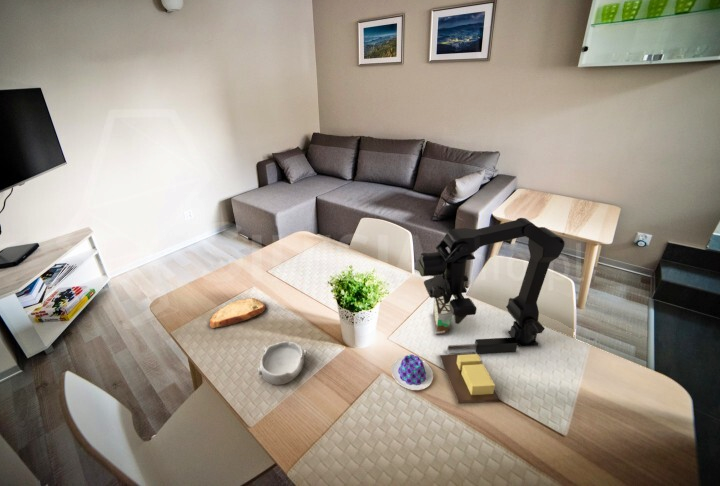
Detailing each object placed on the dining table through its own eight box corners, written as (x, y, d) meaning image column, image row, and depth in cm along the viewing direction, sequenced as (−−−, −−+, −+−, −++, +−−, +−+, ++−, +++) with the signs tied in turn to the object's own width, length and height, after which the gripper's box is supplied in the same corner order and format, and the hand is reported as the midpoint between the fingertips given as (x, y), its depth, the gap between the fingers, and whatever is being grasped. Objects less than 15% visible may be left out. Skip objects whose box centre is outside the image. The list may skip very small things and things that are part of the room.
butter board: (474, 355, 103) (474, 353, 102) (499, 401, 89) (499, 398, 88) (439, 357, 103) (439, 355, 103) (458, 403, 89) (458, 400, 89)
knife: (511, 346, 105) (513, 337, 103) (515, 352, 103) (518, 342, 101) (445, 350, 105) (446, 341, 104) (448, 356, 103) (449, 346, 102)
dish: (310, 355, 108) (309, 344, 106) (294, 392, 96) (292, 380, 94) (271, 346, 112) (269, 336, 110) (251, 380, 101) (248, 369, 99)
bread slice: (205, 326, 124) (203, 318, 123) (233, 297, 139) (231, 290, 138) (245, 337, 118) (243, 329, 116) (269, 305, 133) (268, 298, 131)
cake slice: (455, 339, 109) (458, 316, 105) (436, 338, 110) (438, 314, 106) (450, 314, 120) (452, 292, 116) (432, 313, 121) (434, 291, 117)
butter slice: (476, 362, 99) (477, 353, 98) (479, 369, 97) (481, 360, 95) (456, 363, 99) (457, 354, 98) (459, 370, 97) (460, 361, 96)
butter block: (481, 372, 96) (483, 364, 94) (493, 394, 89) (495, 385, 88) (461, 373, 96) (462, 365, 95) (471, 395, 90) (472, 386, 88)
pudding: (383, 366, 101) (384, 354, 99) (415, 352, 105) (416, 340, 103) (408, 398, 91) (408, 385, 89) (441, 381, 95) (443, 368, 93)
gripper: (418, 256, 104) (417, 296, 110) (437, 293, 87) (434, 337, 93) (453, 253, 103) (450, 293, 110) (479, 290, 86) (474, 334, 93)
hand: (451, 313), depth 102 cm, fingers open, 9 cm apart
